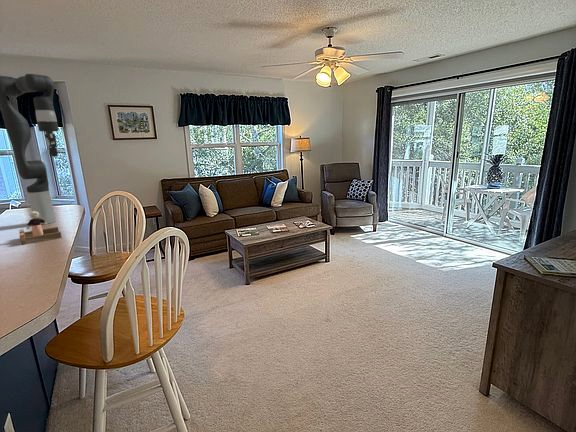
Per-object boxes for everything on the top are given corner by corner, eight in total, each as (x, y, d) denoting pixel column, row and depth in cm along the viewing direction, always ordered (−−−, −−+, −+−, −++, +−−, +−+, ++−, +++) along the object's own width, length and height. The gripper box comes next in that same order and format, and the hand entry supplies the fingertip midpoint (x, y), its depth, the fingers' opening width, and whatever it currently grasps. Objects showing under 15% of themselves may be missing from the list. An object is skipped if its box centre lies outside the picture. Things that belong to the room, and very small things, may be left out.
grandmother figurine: (33, 241, 137) (27, 213, 134) (28, 240, 138) (21, 212, 135) (51, 235, 144) (45, 209, 141) (46, 235, 145) (40, 208, 142)
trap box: (21, 238, 141) (19, 229, 140) (58, 231, 150) (56, 223, 149) (21, 244, 132) (19, 236, 131) (61, 237, 141) (59, 229, 140)
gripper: (35, 121, 147) (43, 155, 151) (37, 119, 137) (45, 157, 141) (55, 121, 152) (61, 155, 156) (58, 120, 142) (65, 156, 146)
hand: (54, 156), depth 148 cm, fingers open, 8 cm apart
